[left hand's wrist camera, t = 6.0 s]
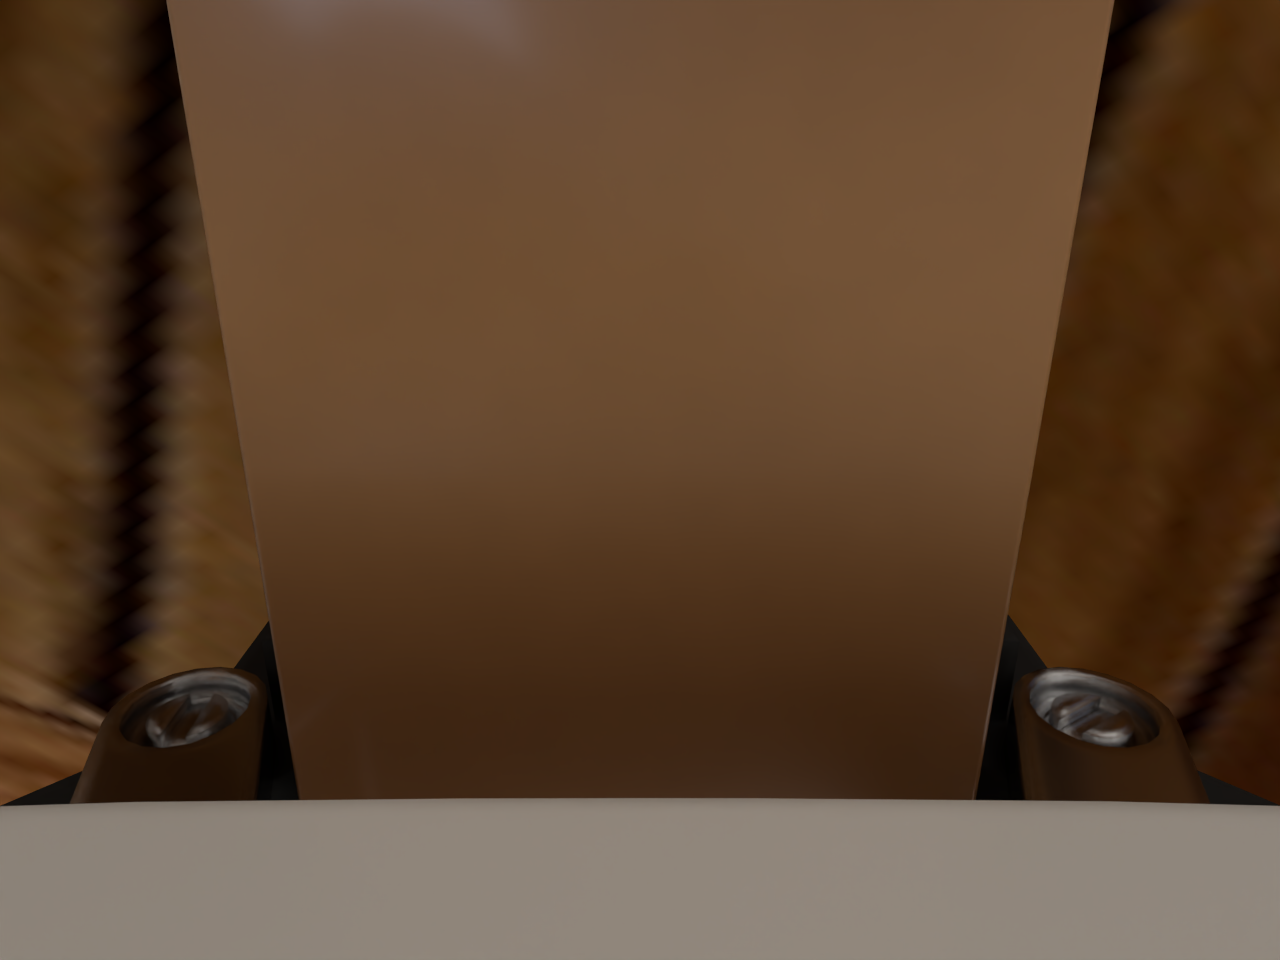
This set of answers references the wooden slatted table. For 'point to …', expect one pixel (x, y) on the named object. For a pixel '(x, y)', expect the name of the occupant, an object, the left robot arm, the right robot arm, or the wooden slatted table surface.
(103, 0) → the wooden slatted table surface
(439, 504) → the post
